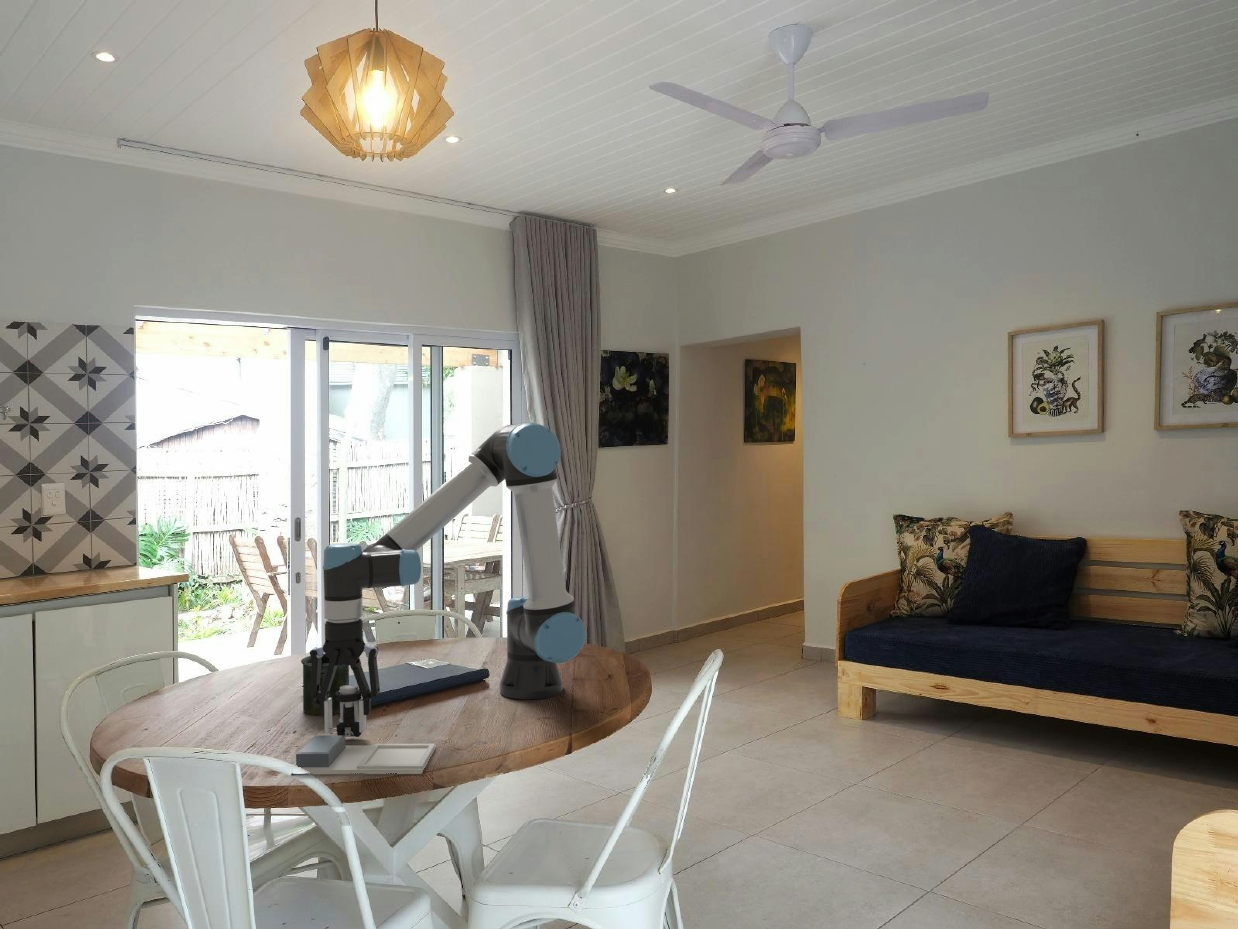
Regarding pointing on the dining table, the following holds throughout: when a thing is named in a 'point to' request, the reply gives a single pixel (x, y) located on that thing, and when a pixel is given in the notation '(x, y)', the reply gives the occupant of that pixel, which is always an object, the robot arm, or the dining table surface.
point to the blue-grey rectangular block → (320, 751)
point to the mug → (340, 679)
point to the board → (379, 759)
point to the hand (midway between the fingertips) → (345, 730)
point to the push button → (348, 711)
